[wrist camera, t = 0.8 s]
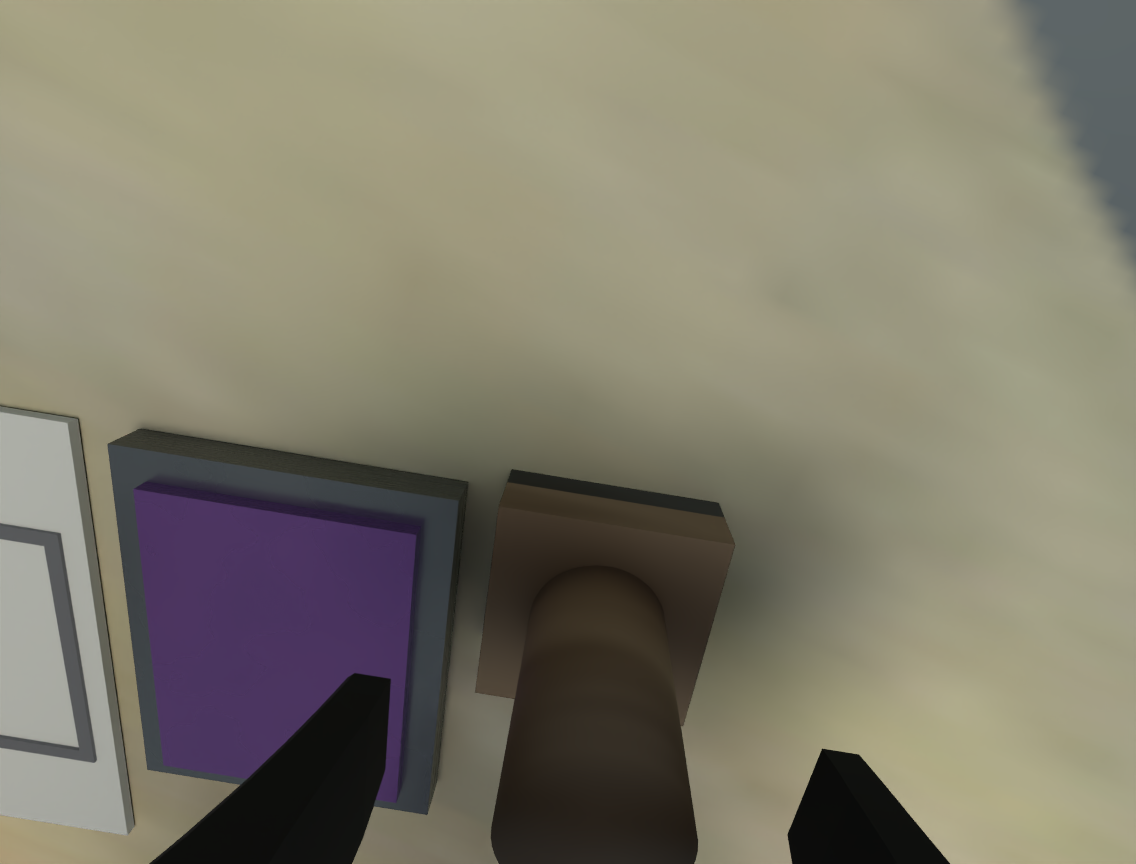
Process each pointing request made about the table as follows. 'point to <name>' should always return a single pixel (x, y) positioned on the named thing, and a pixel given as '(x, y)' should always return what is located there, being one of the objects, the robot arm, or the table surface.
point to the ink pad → (283, 601)
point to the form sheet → (54, 637)
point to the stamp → (598, 666)
